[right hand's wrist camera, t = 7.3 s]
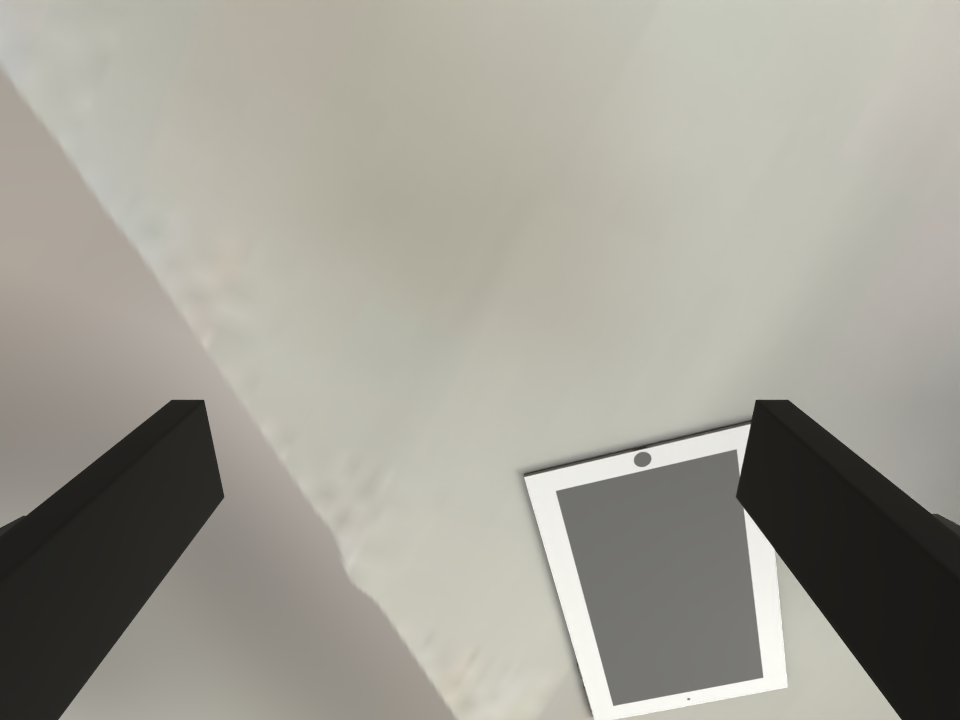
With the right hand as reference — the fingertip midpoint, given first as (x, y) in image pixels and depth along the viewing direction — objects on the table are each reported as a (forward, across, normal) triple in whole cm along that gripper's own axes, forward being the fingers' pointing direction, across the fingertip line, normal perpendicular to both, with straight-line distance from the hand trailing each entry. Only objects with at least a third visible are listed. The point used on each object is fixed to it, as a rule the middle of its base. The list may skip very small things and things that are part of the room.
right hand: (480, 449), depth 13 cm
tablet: (+28, +18, -32) cm, 46 cm away
